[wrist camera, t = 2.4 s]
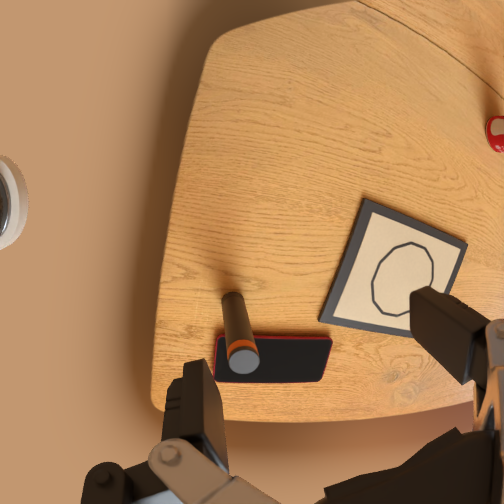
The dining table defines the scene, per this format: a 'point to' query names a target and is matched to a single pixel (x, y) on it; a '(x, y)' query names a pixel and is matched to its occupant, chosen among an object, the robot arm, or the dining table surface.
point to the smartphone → (277, 360)
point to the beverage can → (496, 133)
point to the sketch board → (389, 270)
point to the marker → (239, 335)
